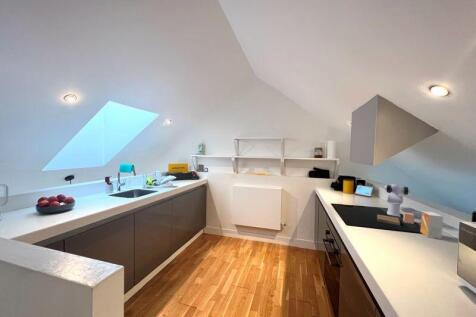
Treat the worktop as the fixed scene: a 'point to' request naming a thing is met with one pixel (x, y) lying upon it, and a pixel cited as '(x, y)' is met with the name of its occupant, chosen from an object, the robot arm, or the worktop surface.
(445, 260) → the worktop surface
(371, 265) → the worktop surface
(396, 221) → the tan board
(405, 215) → the terracotta block
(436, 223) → the small box
